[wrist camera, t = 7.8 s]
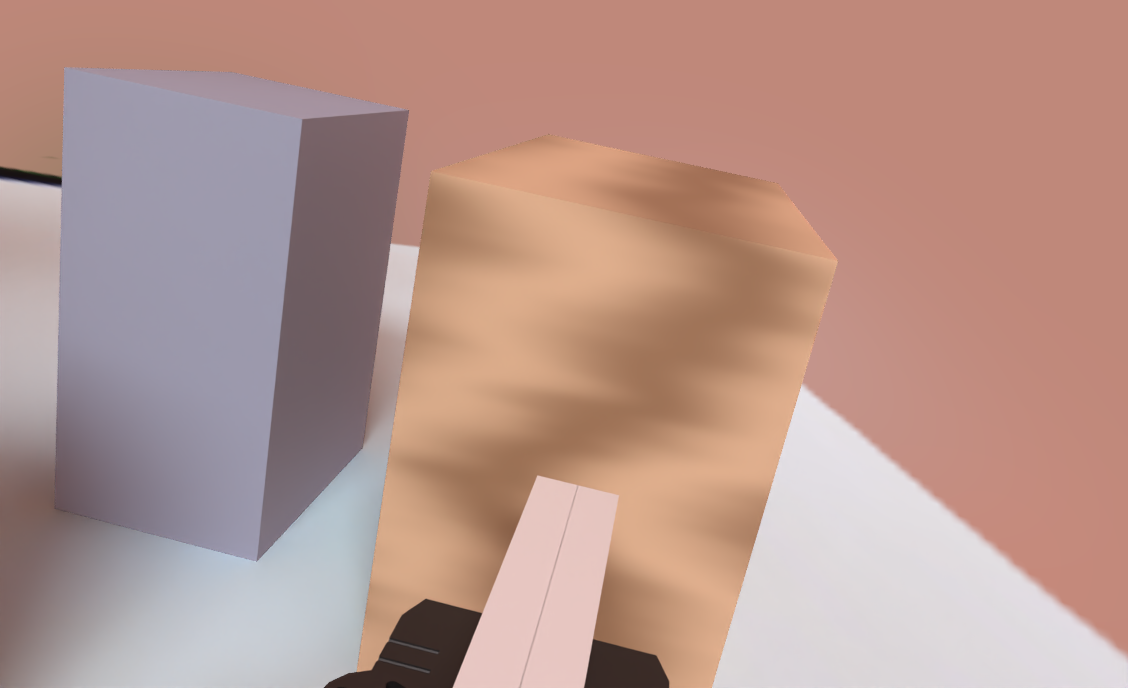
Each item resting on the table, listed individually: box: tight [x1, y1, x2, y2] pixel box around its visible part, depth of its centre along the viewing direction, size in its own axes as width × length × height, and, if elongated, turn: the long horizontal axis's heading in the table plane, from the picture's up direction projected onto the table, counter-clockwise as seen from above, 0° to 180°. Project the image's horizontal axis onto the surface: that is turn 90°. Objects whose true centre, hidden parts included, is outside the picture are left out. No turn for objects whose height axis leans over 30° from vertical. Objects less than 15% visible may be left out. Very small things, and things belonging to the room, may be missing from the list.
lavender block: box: [55, 68, 409, 562], centre depth 27 cm, size 6×8×12 cm
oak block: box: [357, 134, 838, 688], centre depth 26 cm, size 8×14×12 cm, turn 171°
